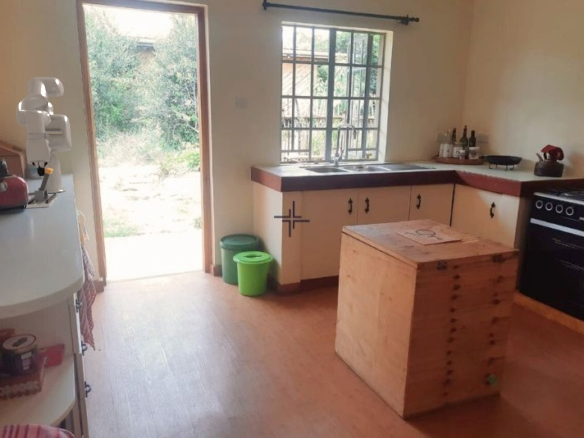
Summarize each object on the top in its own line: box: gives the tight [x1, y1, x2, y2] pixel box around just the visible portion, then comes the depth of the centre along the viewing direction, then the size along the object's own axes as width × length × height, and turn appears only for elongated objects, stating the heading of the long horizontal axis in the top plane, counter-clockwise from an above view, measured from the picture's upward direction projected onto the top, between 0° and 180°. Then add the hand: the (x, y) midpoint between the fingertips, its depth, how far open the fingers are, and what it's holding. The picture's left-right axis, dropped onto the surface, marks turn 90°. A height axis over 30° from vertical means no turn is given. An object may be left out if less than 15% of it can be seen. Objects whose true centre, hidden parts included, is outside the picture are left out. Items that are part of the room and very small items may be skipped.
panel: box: [25, 187, 59, 209], centre depth 219 cm, size 24×10×7 cm, turn 18°
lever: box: [39, 168, 53, 192], centre depth 219 cm, size 6×2×13 cm, turn 18°
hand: (41, 175), depth 217 cm, fingers closed
